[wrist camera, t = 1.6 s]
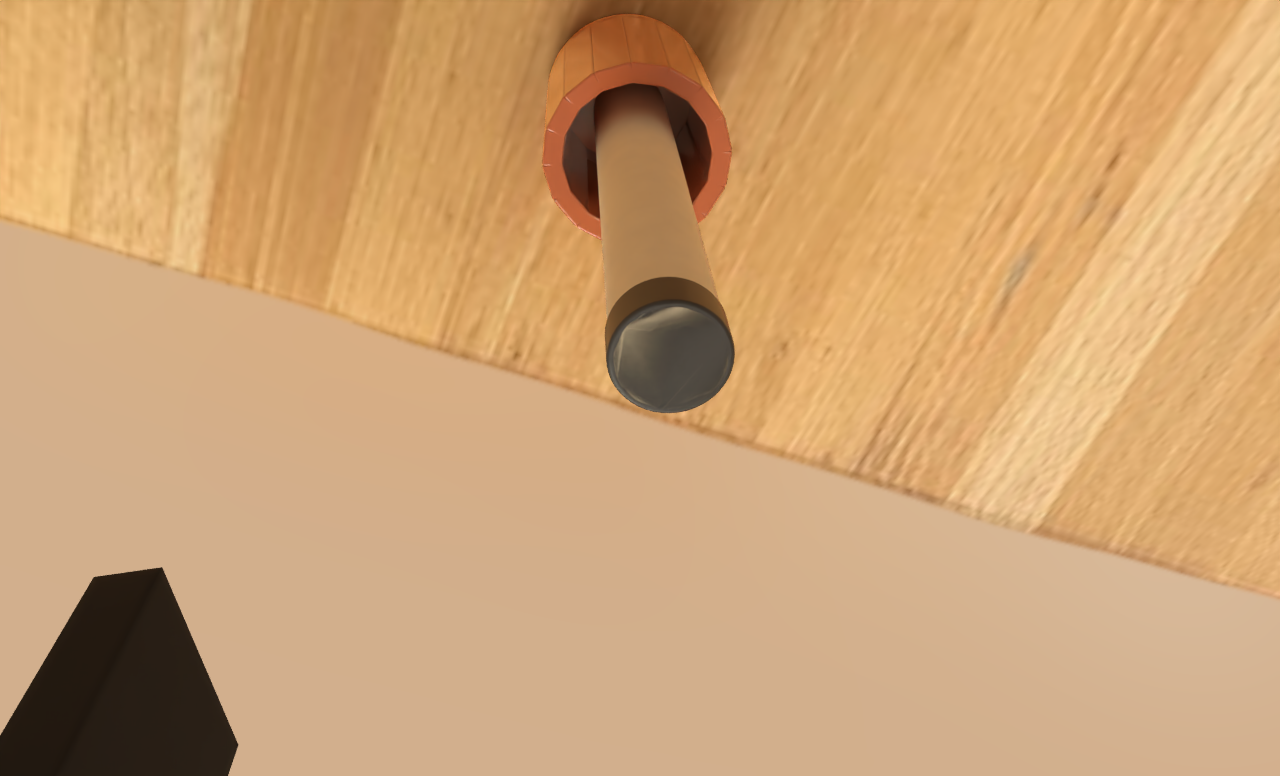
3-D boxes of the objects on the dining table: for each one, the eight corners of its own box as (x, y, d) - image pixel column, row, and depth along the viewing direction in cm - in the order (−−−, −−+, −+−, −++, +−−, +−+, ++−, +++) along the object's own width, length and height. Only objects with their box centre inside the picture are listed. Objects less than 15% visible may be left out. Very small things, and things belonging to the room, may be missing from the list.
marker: (576, 93, 32) (579, 350, 18) (634, 47, 31) (685, 275, 17) (620, 149, 33) (657, 436, 19) (678, 105, 32) (760, 367, 18)
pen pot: (515, 81, 32) (504, 143, 27) (641, -22, 31) (656, 23, 26) (612, 200, 34) (620, 280, 29) (735, 108, 33) (766, 173, 28)
